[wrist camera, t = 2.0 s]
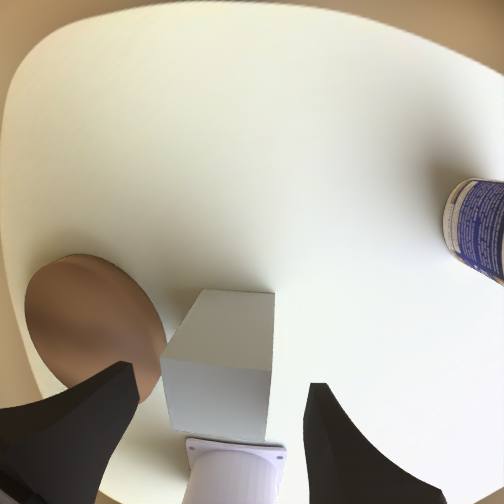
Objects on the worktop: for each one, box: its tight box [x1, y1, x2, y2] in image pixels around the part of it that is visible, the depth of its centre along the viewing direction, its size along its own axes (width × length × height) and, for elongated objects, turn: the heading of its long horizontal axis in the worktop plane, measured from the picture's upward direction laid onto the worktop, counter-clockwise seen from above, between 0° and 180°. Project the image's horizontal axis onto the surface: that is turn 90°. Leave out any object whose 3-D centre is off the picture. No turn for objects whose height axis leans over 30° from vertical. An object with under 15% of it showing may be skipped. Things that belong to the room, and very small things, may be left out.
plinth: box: [25, 254, 167, 404], centre depth 17 cm, size 11×11×2 cm
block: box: [159, 288, 275, 441], centre depth 14 cm, size 4×4×7 cm
